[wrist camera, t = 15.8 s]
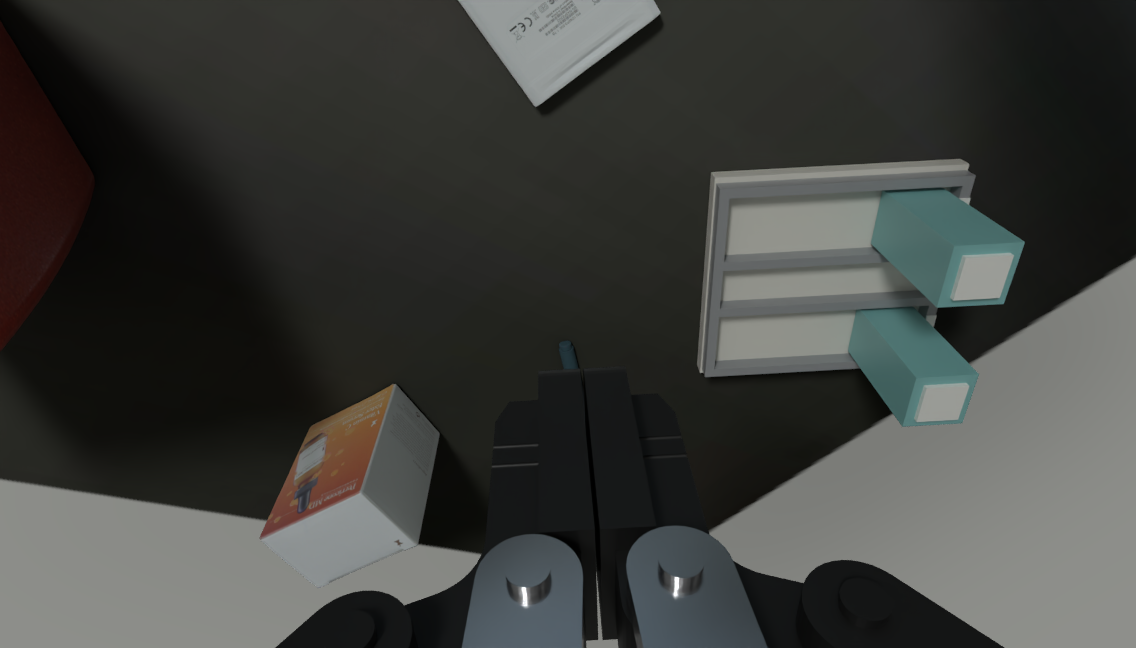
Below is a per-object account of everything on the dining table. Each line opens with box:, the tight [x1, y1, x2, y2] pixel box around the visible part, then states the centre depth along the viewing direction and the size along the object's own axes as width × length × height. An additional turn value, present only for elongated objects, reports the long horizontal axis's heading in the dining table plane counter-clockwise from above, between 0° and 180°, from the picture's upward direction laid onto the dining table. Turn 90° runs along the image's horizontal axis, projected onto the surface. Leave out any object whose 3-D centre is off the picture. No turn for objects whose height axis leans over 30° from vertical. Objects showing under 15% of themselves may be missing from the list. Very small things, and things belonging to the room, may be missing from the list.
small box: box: [260, 384, 440, 588], centre depth 44 cm, size 8×6×10 cm
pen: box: [559, 341, 585, 418], centre depth 49 cm, size 1×16×1 cm, turn 11°
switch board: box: [697, 159, 976, 377], centre depth 42 cm, size 15×14×2 cm
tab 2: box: [848, 306, 979, 427], centre depth 41 cm, size 4×4×8 cm
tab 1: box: [871, 187, 1025, 308], centre depth 37 cm, size 4×4×8 cm
